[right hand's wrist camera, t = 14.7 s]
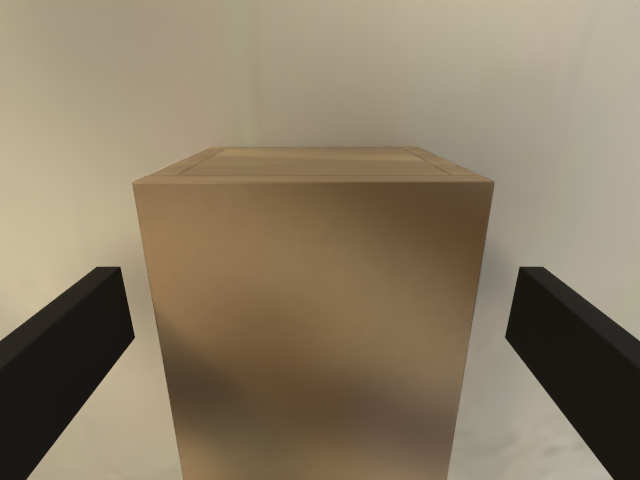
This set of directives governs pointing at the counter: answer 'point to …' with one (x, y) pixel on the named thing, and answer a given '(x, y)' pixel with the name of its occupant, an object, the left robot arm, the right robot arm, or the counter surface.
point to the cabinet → (314, 308)
